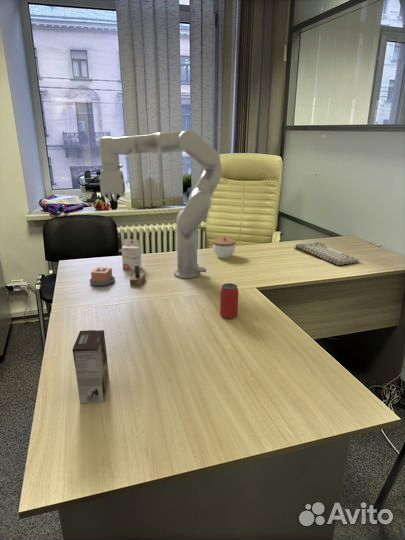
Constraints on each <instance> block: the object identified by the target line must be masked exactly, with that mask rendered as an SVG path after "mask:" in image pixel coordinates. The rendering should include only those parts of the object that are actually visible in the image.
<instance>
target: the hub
mask: <svg viewBox="0 0 405 540" xmlns="http://www.w3.org/2000/svg"><path fill="white" fill-rule="evenodd" d="M99 272H104V268H100V269H99ZM115 282H116V279H115V276H113V275H112V278H111V279H110V280H109V281H108V282H92V278H90V279H89V284H90V285H91V287H95V288H105V287H109V286H112V285H115Z"/></svg>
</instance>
